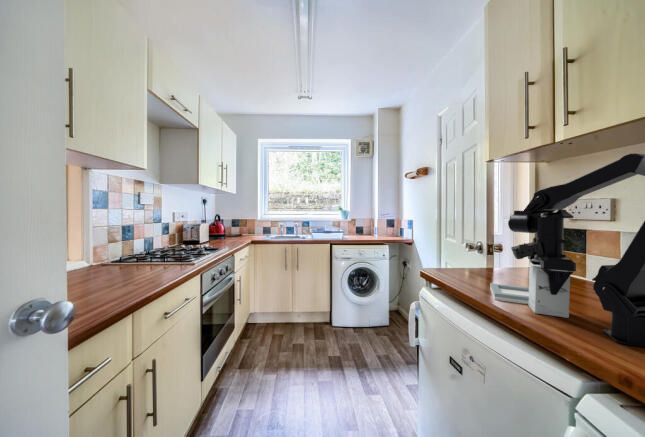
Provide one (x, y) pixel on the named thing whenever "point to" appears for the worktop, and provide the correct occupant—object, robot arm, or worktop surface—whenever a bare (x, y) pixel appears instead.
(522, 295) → the tile coaster
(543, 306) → the supplement box
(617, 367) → the worktop surface
